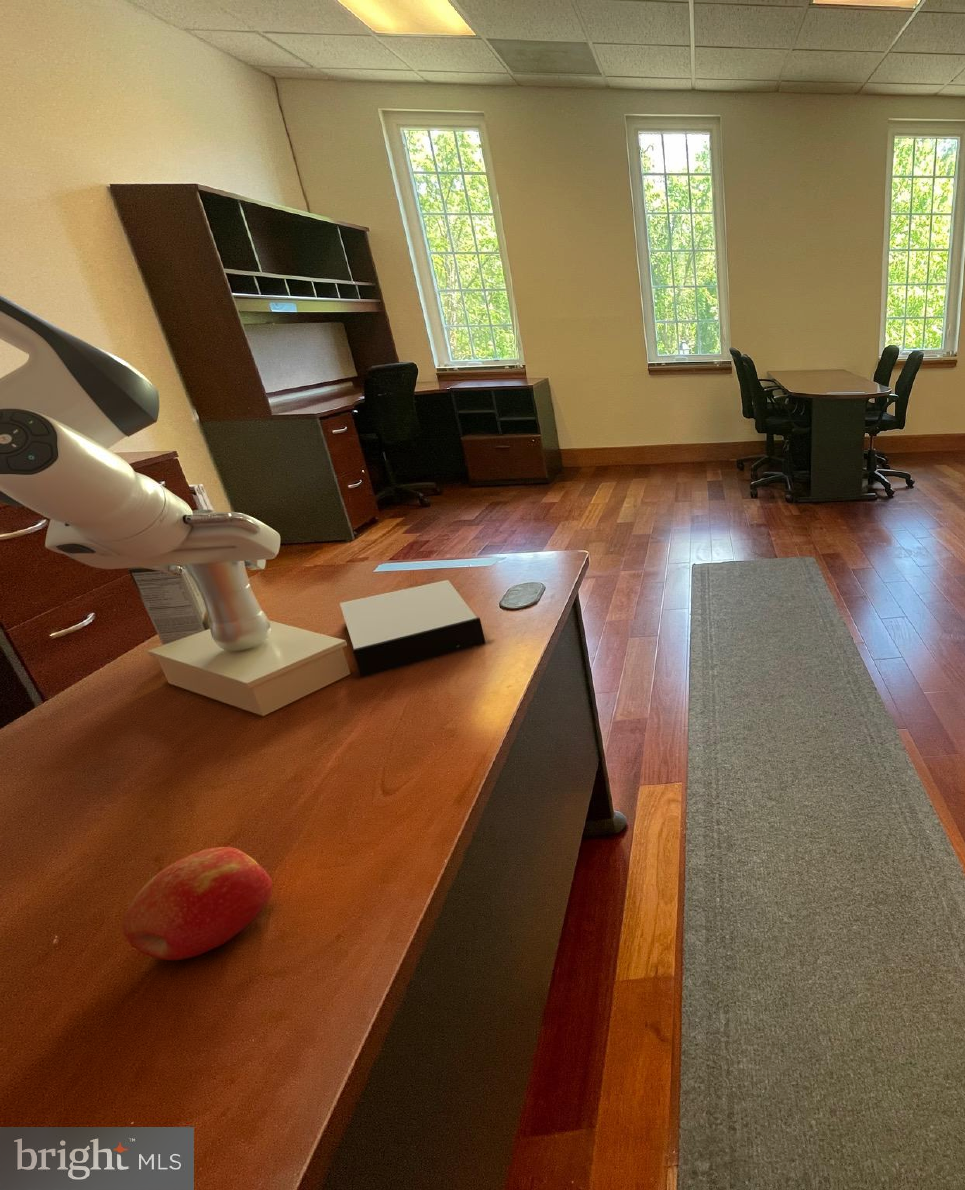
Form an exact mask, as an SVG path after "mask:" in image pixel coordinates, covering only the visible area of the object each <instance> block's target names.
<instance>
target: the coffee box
mask: <svg viewBox="0 0 965 1190" xmlns="http://www.w3.org/2000/svg"><path fill="white" fill-rule="evenodd" d="M127 571H128V573H129V576H130V577H131V579H132V582H133V584H134V586H135V588H136V590H137V593H138V595H139V597H140V600H141V602H142V603H143V605H144V608H145V609H146V612H147V615H148V616H149V618H150V620H151V623H152V625H153V628H154V630H155V631H156V633H157V635H158V638H159V640H160V642H161V645H165V644H168V643H171V642H174V641H176V640H179V639H182V638H185V637H188V636H191V635H194V634H196V633H199V632H202V631H205V630H208V629H210V623H209V622H210V621H209V618H208V614H207V611H206V607H205V604H204V600H203V598H202V596H201V592H200V591H199V590H198V588H197V586H196V584H195V582H194V580H193V578H192V577H191V575H190V574H189V572H188V571H187V569H185V571H186V573H185V574H182V575H169V574H167V573H165V572H163V571H158V570H153V569H148V568H142V567H136V568H127Z"/></svg>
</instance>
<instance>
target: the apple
mask: <svg viewBox="0 0 965 1190" xmlns="http://www.w3.org/2000/svg"><path fill="white" fill-rule="evenodd" d="M272 881H273V880H272V879H271V876H270V875H269V873H268V872H267V871H266V870H265V869H264V868H263V867H262V866H261V865H260V864H259V863H258V862H257V861H256V860H255V859H254V858H252V856H250V855H248V854H246V853H245V852H244V851H242V850H241V849H238V848H237V847H231V846H218V847H211V848H210V847H209V848H205V849H203V850H200V851H198V852H195V853H193V854H190V855H187V856H186V857H183V858H181V859H179V860H177V861H175V862H174V863H172V864H170V865H168V866H166V867H165V868H164V869H162V870H161V871H160V872H158V873H156V875H155V876H153V877H152V878H151V879H150V880H148V882H147V883H146V884H145V885H144V886H143V887H142V888H141V889H140V890H139V891H138V892H137V893H136V894H135V896H134V897H133V899H132V901H130V903H129V905H128V907H127V910H126V911H125V914H124V917H123V921H122V932H123V935H124V937H125V938H126V940H127V941H128V943H129V945H130V946H132V947H133V948H134V949H136V950H137V951H138V952H140V953H141V954H143V955H146V956H148V957H151V958H155V959H158V960H163V961H180V960H186V959H191V958H194V957H197V956H200V955H202V954H205V953H207V952H209V951H211V950H213V949H215V948H217V947H221V946H222V945H224V944H225V943H227V942H229V941H230V940H231V939H232V938H234V937H236V936H237V935H239V933H241V932H242V931H244V930H246V929H247V928H248V927H249V926H250V925H251V924H252V923H253V922H254V921H255V920H256V918H258V916H260V914H261V912H262V911H263V910H264V909H265V907H266V906H267V904H268V902H269V901H270V898H271V896H272V892H273V882H272Z"/></svg>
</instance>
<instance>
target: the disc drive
mask: <svg viewBox="0 0 965 1190" xmlns="http://www.w3.org/2000/svg"><path fill="white" fill-rule="evenodd" d="M339 606H340V609H341V612H342V616H343V618H344V621H345V624H346V628H347V631H348V635H349V638H350V641H351V644H352V653H353V656H354V659H355V662H356V665H357V668H358V671H359V675H360V677H361V678H364V677H367V676H370V675H375V674H378V673H383V672H387V671H389V670H392V669H396V668H401V667H405V666H407V665H410V664H416V663H418V662H422V661H426V660H430V659H433V658H437V657H440V656H444V655H448V654H451V653H455V652H458V651H462V650H465V649H469V648H470V649H471V648H473V647H477V646H480V645H484V644H486V638H485V635H484V630H483V625H482V620H481V618H480V617H478V616H476V614H475V612H473V610H472V609H471V608H470V607H469V605H468V604H467V603H466V600H464V599H463V597H462V595H460V593H459V592H458V591H457V590H456V588H455V587H454V586H453V585H452V582H450V580H449V579H446V580H441V581H437V582H431V583H427V584H422V585H418V586H413V587H408V588H403V589H398V590H393V591H390V592H385V593H380V594H375V595H371V596H367V597H361V598H357V599H352V600H347V601H343V602H339Z"/></svg>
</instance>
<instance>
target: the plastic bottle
mask: <svg viewBox="0 0 965 1190" xmlns="http://www.w3.org/2000/svg"><path fill="white" fill-rule="evenodd" d="M214 512H215V511H214V510H213V509H196V510H192V513H214ZM244 565H245V561H233V562H217V563H201V564H184V566H185V567H186V569H187V571H188V572H189V574H190V575H191V577H192V578H193V580H194V582H195V584H196V586H197V588H198V590H199V591H200V592H201V596H202V598H203V600H204V604H205V607H206V611H207V614H208V618H209V621H210V622H209V623H210V631H211V636H212V638H213V640H214V641H215V643H216V644H217V646H218V647H220V648H222V649H224V650H226V651H239V650H244V649H249V648H252V647H255V646H258V645H260V644H262V643H264V642H265V641H267V640H268V639H269V637H270V634H271V626H270V622H269V618H268V616H267V614H266V613H265V611H263V609H262V608H261V606H260V604H259V602H258V600H257V597H256V596H255V593H254V592H253V589H252V586H251V583H250V580H249V576H248V572H247V569H246V568H247V567H245V566H244Z"/></svg>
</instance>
